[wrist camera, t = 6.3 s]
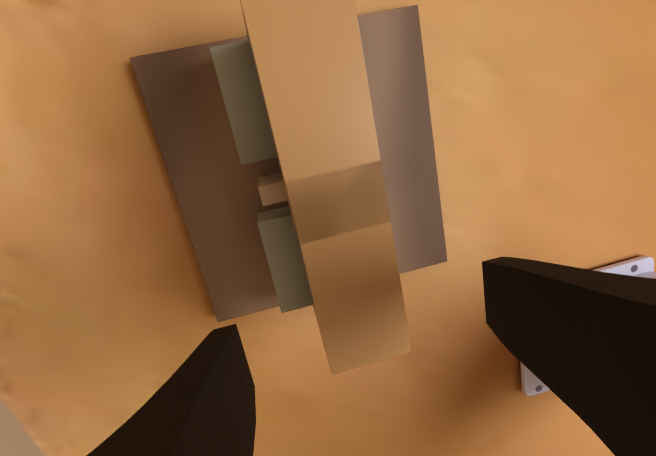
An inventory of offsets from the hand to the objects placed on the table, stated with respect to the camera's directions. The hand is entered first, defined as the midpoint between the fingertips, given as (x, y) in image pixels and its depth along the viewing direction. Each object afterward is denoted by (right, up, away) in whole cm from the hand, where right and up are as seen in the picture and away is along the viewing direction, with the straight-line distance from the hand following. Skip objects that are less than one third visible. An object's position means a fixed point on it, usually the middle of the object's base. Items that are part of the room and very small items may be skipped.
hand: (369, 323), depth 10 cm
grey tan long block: (-2, +5, +6) cm, 8 cm away
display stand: (-2, +6, +8) cm, 10 cm away
